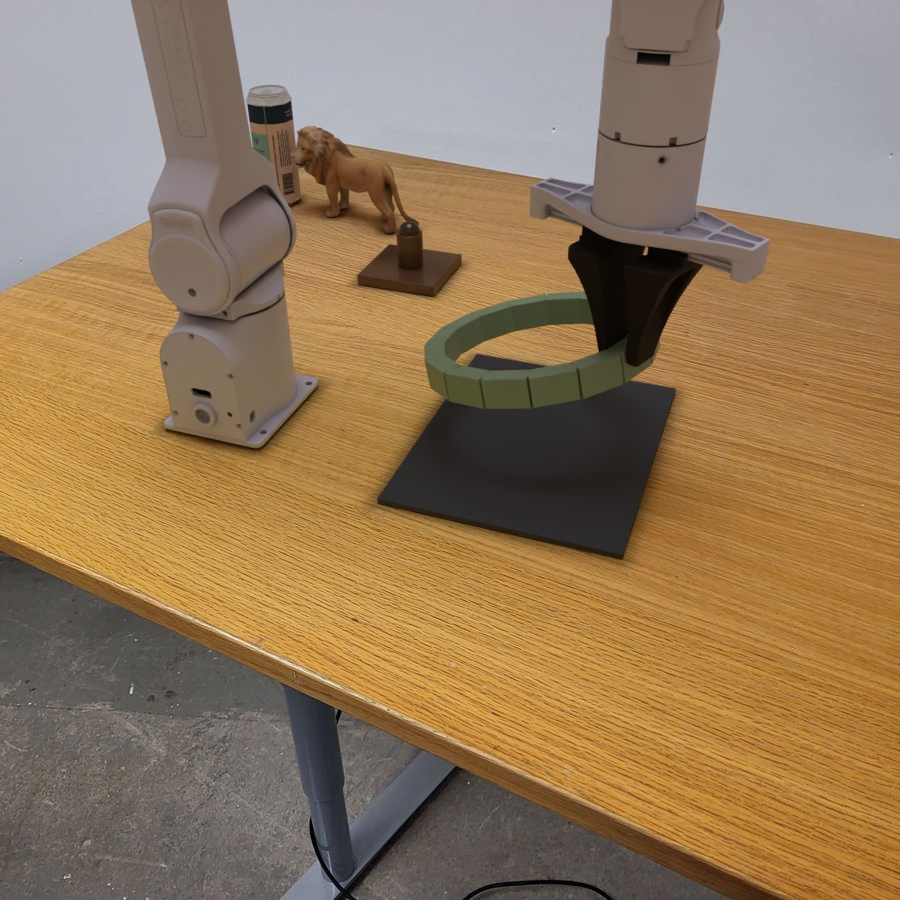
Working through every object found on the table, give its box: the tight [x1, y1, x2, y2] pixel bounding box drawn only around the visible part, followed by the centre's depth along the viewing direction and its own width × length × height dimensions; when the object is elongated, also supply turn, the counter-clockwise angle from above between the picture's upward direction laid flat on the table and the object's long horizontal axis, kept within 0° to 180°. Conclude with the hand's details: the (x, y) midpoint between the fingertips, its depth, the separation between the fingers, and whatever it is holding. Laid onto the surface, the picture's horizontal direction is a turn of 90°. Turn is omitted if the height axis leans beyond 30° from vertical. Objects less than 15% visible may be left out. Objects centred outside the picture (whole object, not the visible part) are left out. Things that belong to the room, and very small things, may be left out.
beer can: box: [245, 84, 302, 206], centre depth 101 cm, size 5×5×12 cm
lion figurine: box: [290, 125, 420, 234], centre depth 98 cm, size 15×5×9 cm, turn 62°
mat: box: [376, 353, 677, 560], centre depth 66 cm, size 20×16×1 cm
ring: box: [423, 290, 661, 409], centre depth 62 cm, size 15×15×2 cm
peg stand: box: [356, 220, 463, 297], centre depth 87 cm, size 8×8×5 cm
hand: (626, 354), depth 58 cm, fingers closed on ring, 1 cm apart
